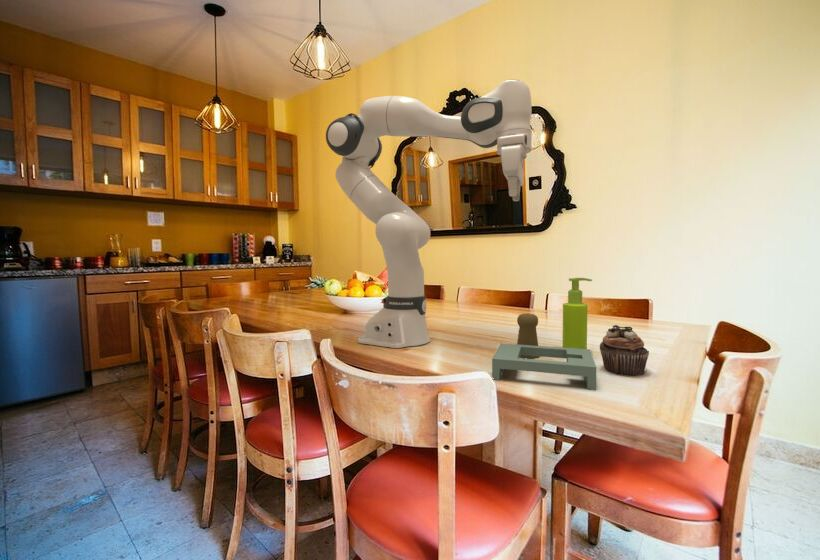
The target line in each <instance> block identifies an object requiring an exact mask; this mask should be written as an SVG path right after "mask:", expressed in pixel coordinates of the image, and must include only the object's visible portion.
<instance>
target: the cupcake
mask: <svg viewBox="0 0 820 560" xmlns="http://www.w3.org/2000/svg"><path fill="white" fill-rule="evenodd" d="M605 332H606V333H605V335H604V337H603V338H602V341H601V342H600V344H599V352H600V355H601V358H602V364H603V368H604V370H605V371H606V372H608V373H611V374H614V375H619V376H627V377H631V376H632V377H637V376H638V377H639V376H642V375H643V374H644V373H645V371H646V366H647V361H648V358H649V355H650V351H649V350H648V349H647V348H645V342H644V341H643V339H642V338H641V337H640V336H638V333H636V332H635V331H634V330H633V327H631V326H619V325H617V324H615V325H612V327H611V328H608V329H607V330H606V331H605Z"/></svg>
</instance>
